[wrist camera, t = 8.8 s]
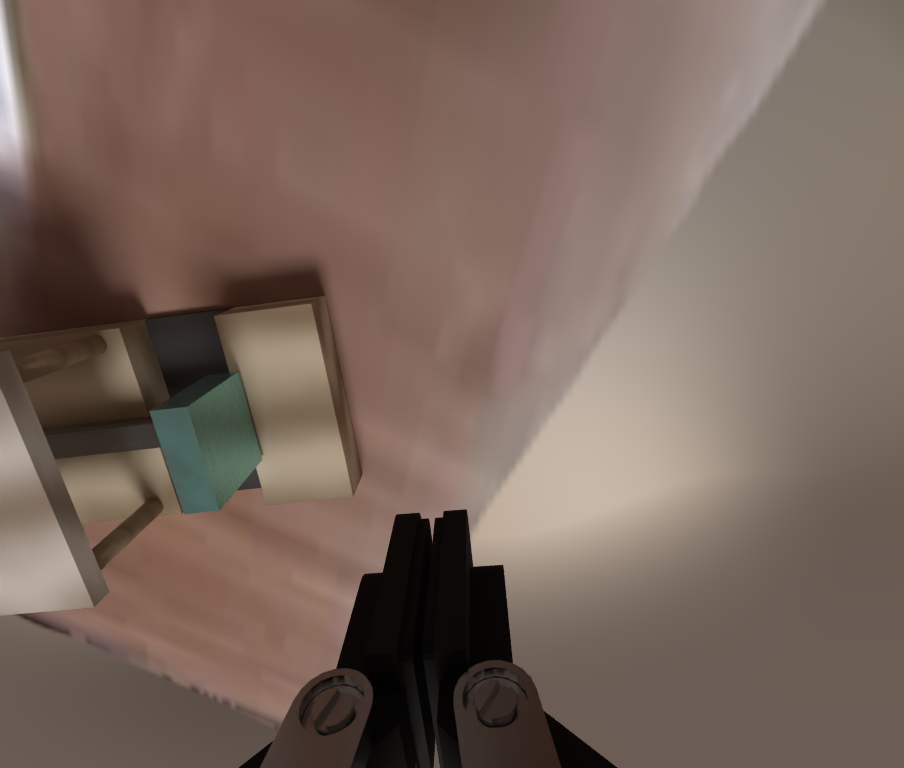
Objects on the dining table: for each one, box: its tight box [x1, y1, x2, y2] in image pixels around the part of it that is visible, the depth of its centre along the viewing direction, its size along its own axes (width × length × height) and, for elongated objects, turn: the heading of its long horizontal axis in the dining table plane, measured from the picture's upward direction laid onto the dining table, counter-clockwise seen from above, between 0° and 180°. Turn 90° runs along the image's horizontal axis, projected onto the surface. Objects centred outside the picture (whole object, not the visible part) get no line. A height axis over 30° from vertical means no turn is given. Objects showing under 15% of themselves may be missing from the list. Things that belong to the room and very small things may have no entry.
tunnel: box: [0, 296, 362, 615], centre depth 31 cm, size 14×38×11 cm, turn 97°
